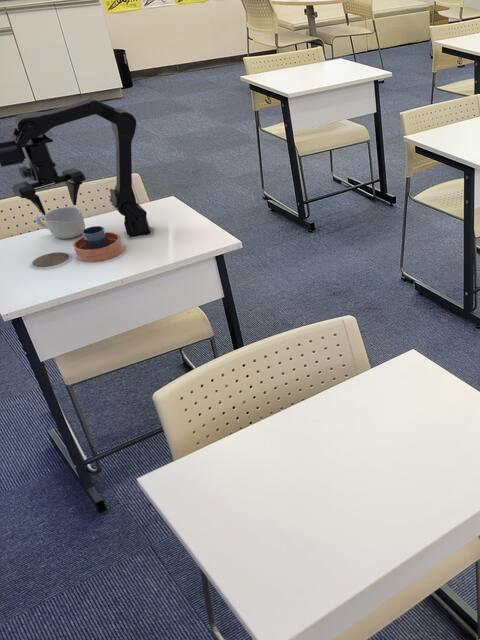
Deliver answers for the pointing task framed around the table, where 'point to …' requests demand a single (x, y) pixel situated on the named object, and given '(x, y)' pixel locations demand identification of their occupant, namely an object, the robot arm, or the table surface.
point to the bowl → (101, 253)
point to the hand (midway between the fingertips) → (59, 209)
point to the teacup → (63, 222)
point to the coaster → (50, 259)
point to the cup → (95, 237)
